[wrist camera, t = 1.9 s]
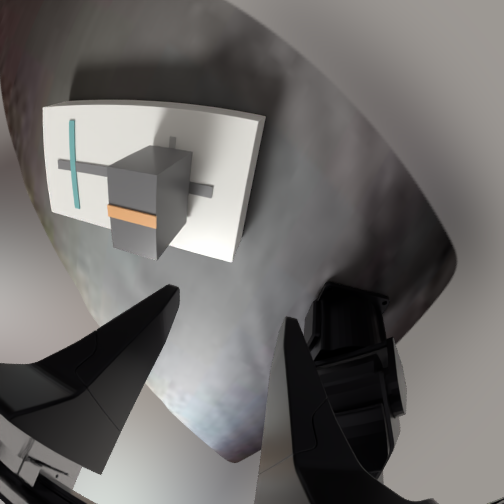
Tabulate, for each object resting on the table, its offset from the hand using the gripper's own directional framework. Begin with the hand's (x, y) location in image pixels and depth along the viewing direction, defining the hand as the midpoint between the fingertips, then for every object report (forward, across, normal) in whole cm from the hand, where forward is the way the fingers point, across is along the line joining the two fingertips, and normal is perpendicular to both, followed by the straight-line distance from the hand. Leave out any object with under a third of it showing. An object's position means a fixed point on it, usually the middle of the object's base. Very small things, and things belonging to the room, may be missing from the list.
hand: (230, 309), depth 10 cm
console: (+12, +10, 0) cm, 16 cm away
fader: (+9, +7, 0) cm, 11 cm away
